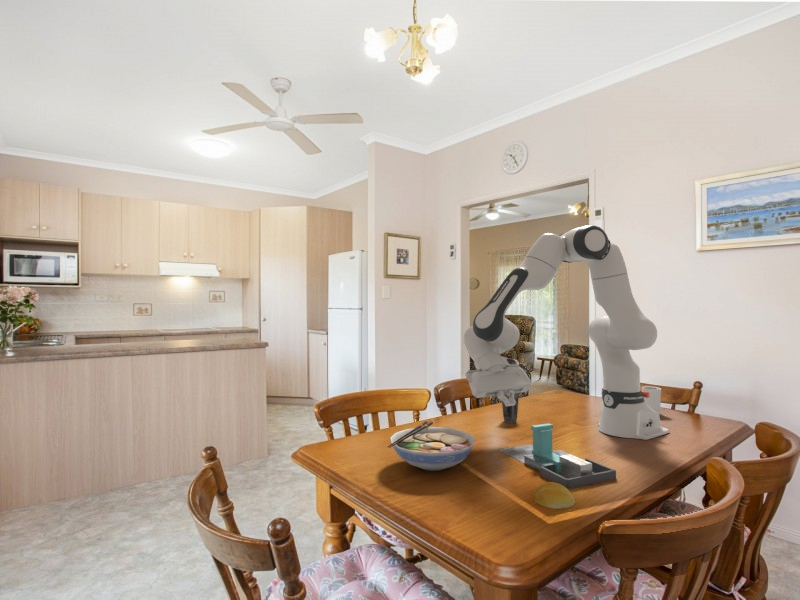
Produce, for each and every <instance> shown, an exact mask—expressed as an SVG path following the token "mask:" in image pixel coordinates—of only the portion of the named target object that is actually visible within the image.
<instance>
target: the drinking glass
mask: <svg viewBox="0 0 800 600" xmlns="http://www.w3.org/2000/svg"><path fill="white" fill-rule="evenodd" d="M642 391H645V392H649V393H650V396H649V398H646V397H643V398H644V402H645V403H646V404H647V405H648V406H650V407H651V408H652V409H653V410H655V411H656V412H657V413H658V414H659V416H661V405H662V404H661V403H662V402H661V400H662V388H661V387H657V386H648V385H647V386H641V392H642Z"/></svg>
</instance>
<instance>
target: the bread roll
mask: <svg viewBox="0 0 800 600" xmlns="http://www.w3.org/2000/svg"><path fill="white" fill-rule="evenodd" d="M533 496H534V502H535V503H537V504H538V505H540V506H542V507H545V508H548V509H549V508H550V509H557V510H558V509H559V510H560V509H569V508H571V507H573V506H575V504H576V501H575V498H574V496H573V494H572V492H571V491H570V489H567V488H566V487H564V486H563V485H561V484H559V483H555V482H552V481H546V482H542V483H541V484H539V485H538V486H536V487H535V489H534V491H533Z"/></svg>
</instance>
